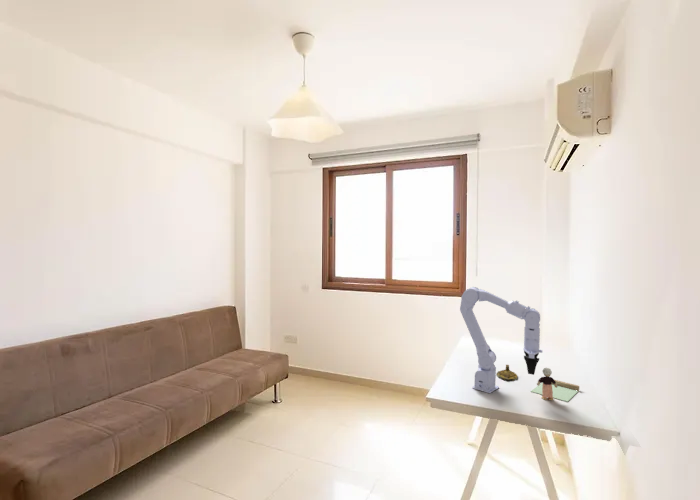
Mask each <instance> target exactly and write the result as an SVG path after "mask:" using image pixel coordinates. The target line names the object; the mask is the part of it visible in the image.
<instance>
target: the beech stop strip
mask: <svg viewBox="0 0 700 500" xmlns="http://www.w3.org/2000/svg"><path fill="white" fill-rule="evenodd" d="M554 380H555V382H556V384H557V386H561V387H565V388H569V389H572V390H577V391H578V392H579V391H580V385H579V384H578V385H577V384H574V383H570V382H565V381H561V380H558V379H554ZM552 384H553V383H552ZM553 385H554V384H553Z"/></svg>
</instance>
